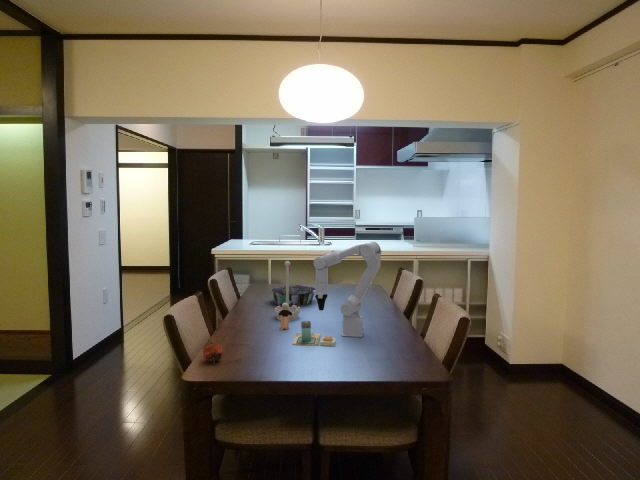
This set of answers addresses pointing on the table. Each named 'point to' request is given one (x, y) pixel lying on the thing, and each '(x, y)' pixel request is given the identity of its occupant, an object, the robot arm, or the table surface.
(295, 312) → the flag stand
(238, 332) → the table surface
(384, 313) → the table surface
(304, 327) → the green grey cylinder
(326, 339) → the button
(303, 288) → the decorative bowl
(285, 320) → the grandmother figurine
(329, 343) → the button housing
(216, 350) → the pomegranate
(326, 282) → the robot arm
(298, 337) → the picture board
